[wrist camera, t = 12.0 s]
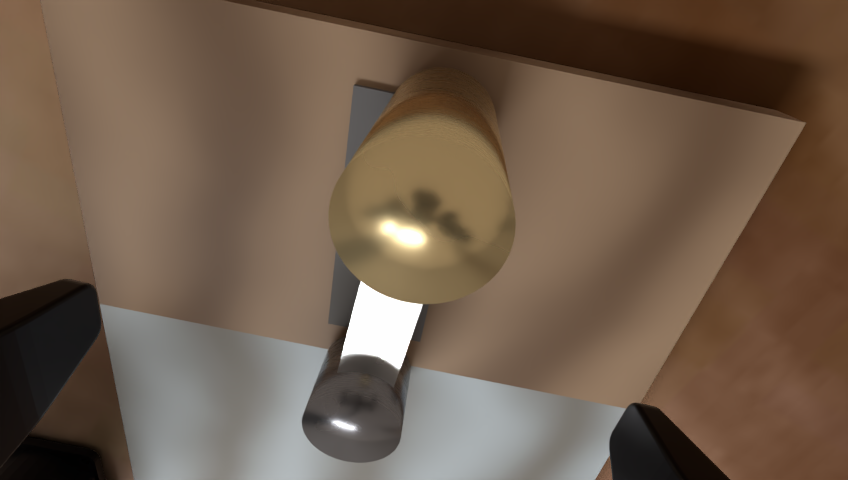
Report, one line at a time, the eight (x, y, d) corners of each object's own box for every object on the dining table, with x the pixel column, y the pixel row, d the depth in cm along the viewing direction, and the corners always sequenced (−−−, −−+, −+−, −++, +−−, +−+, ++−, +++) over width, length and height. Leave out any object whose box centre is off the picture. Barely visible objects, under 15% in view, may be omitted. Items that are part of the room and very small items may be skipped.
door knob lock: (399, 405, 20) (370, 580, 14) (318, 384, 19) (256, 553, 14) (516, 88, 13) (552, 172, 7) (397, 51, 13) (341, 107, 7)
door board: (151, 458, 26) (132, 487, 25) (72, -38, 14) (26, -41, 13) (541, 534, 26) (545, 567, 25) (775, 110, 15) (810, 124, 13)
